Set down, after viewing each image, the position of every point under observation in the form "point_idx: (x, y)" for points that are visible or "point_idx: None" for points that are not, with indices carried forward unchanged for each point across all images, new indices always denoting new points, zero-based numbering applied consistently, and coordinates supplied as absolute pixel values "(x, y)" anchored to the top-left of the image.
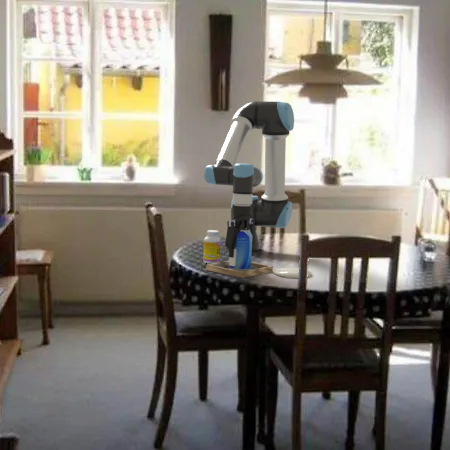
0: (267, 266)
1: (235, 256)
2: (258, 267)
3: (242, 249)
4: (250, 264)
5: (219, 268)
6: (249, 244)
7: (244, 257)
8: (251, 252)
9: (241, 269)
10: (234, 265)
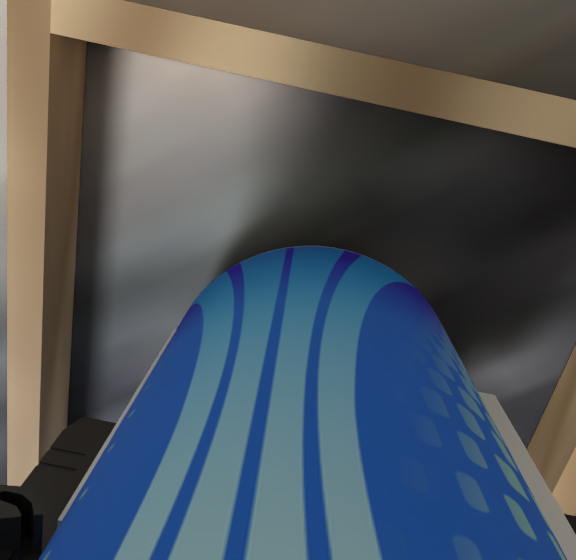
0: (54, 70)
1: (537, 493)
2: (67, 230)
3: (542, 519)
4: (283, 264)
5: (573, 501)
6: (392, 529)
7: (447, 365)
8: (225, 361)
9: (429, 304)
10: (498, 401)
